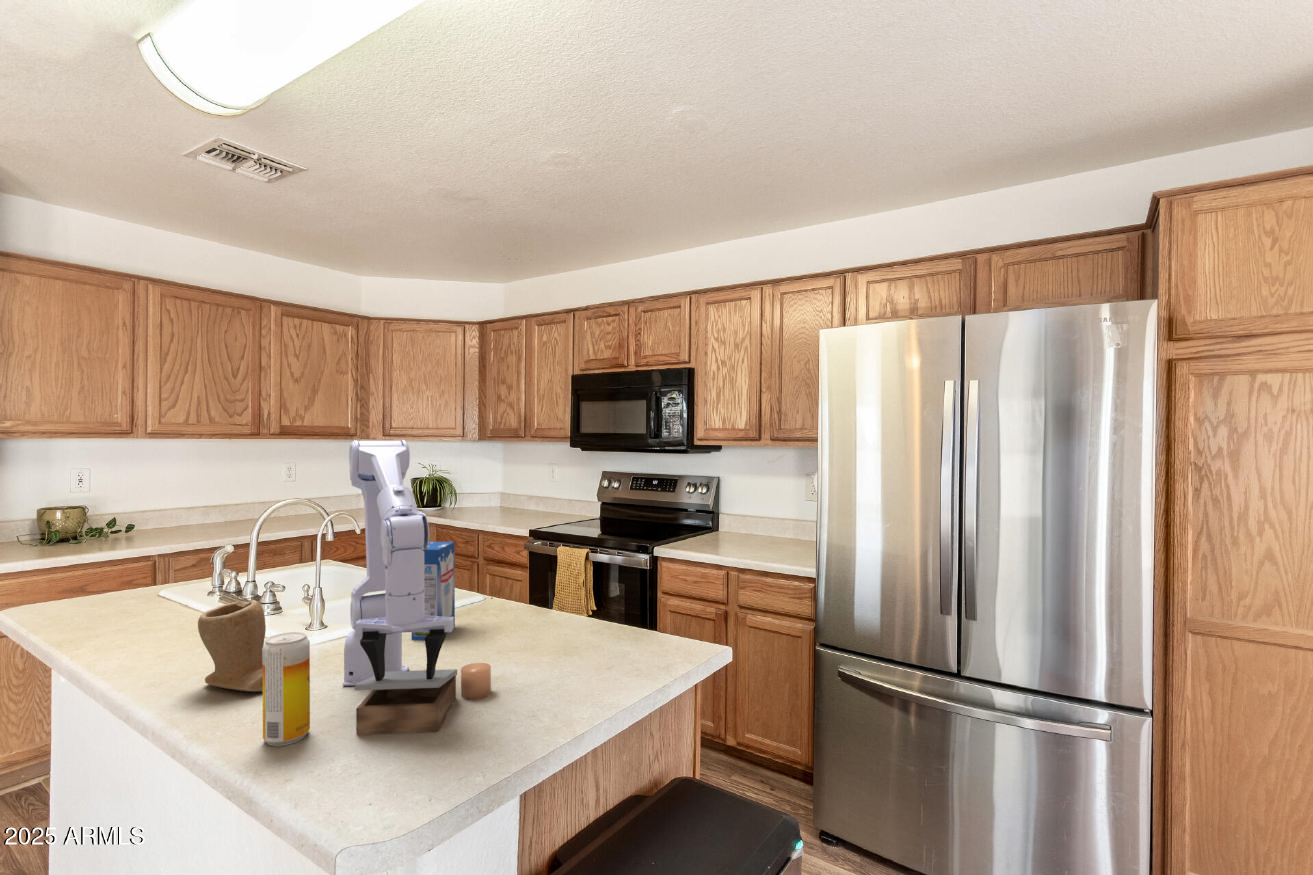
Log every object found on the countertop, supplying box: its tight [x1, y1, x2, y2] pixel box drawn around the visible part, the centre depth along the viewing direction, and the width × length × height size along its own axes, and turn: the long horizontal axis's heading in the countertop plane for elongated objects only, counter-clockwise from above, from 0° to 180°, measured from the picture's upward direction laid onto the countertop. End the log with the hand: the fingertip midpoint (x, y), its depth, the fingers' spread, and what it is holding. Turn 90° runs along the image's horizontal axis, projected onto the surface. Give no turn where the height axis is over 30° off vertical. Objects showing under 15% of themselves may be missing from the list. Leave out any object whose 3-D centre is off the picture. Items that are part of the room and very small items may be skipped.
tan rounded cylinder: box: [460, 662, 492, 701], centre depth 111 cm, size 5×5×4 cm
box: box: [355, 675, 457, 736], centre depth 102 cm, size 12×12×4 cm
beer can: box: [262, 631, 311, 747], centre depth 95 cm, size 6×6×15 cm
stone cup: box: [197, 599, 267, 692], centre depth 114 cm, size 15×12×15 cm
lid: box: [354, 668, 458, 691], centre depth 102 cm, size 12×12×1 cm
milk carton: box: [411, 541, 456, 641], centre depth 144 cm, size 10×6×20 cm, turn 179°
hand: (405, 678), depth 100 cm, fingers open, 7 cm apart
